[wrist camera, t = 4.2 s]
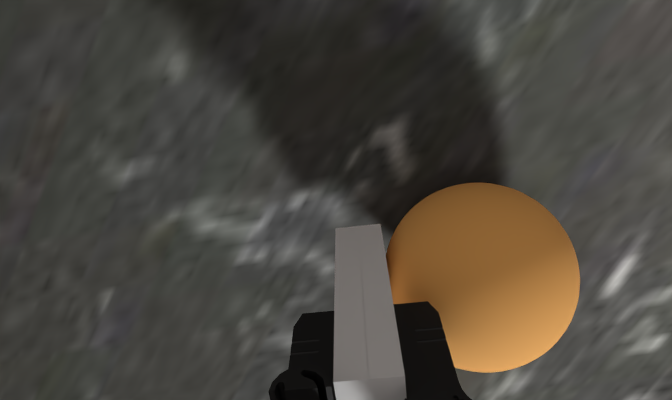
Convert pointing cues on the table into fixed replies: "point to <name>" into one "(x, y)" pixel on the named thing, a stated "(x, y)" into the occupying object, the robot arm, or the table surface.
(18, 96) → the table surface
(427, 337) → the robot arm
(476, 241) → the ball
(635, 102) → the table surface
